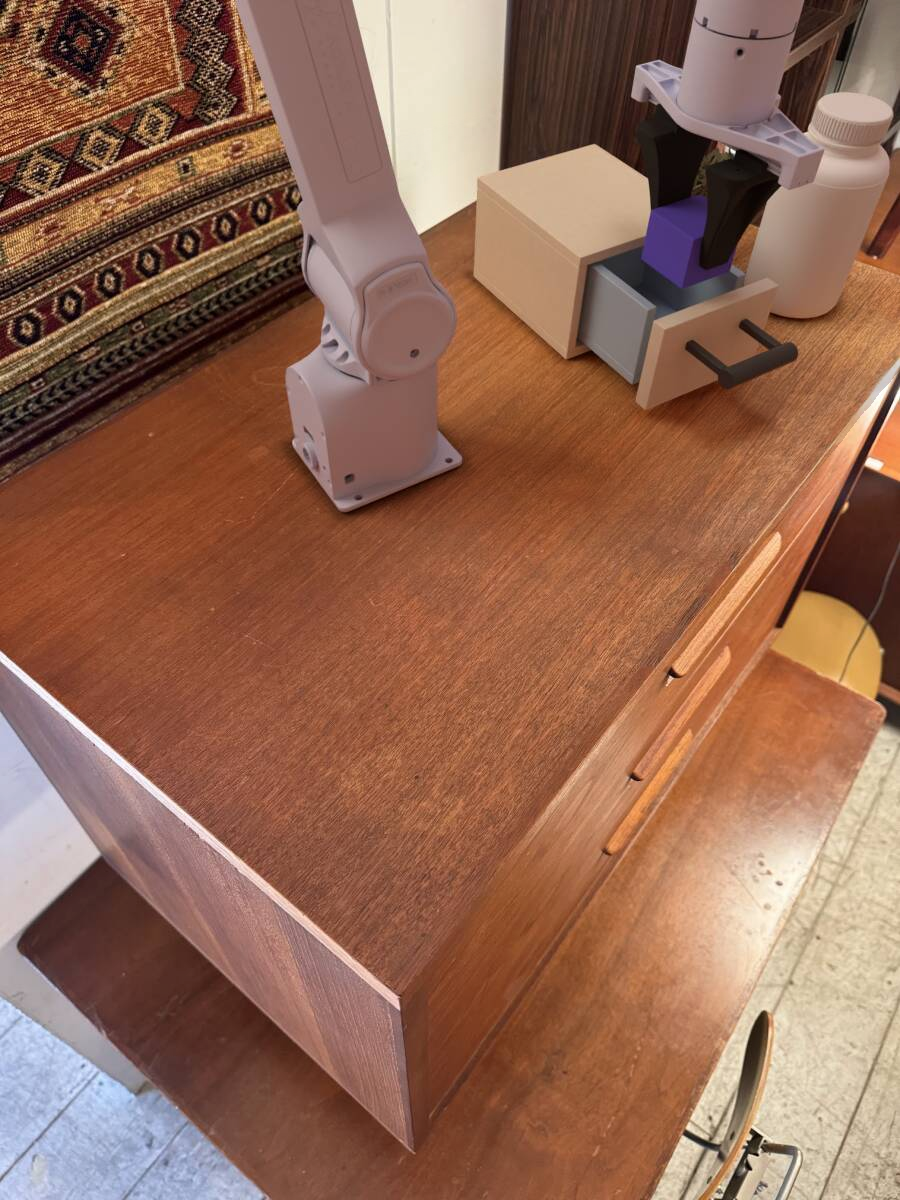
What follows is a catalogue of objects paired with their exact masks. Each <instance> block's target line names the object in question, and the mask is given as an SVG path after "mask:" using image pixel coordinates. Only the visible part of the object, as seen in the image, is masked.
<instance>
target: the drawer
mask: <svg viewBox="0 0 900 1200" xmlns="http://www.w3.org/2000/svg"><path fill="white" fill-rule="evenodd" d="M643 247H644V246H642V247H639V248H636V249H633V250H630V251H627V252H624V253H621V254H618V255H615V256H612V257H609V258H606V259H603V260H601V261H598V262H595V263H592V264H589V265H587V273H586V279H585V286H584V293H583V299H582V306H581V313H580V319H579V326H578V333H577V338H578V339H580V340H581V341H582V342H583V343H584V344H585V345H586V346H588V347H589V348H590V349H591V350H590V351H593V353H594V354H595V355H597V356H598V357H599V358H600V359H601V360H603V361H604V362H605V363H606V364H607V365H608V366H609V367H610V368H612V370H614V371H615V372H617V374H619V375H620V376H621V377H622V378H624V379H625V380H626V382H628V384H630V385H631V386H634V385H636V384H638V388H637V391H636V397H635V403H636V404H637V405H638V406H640V407H641V408H642V409H643V410H644V411H648V410H650V409H653V408H655V407H657V406H660V405H662V404H665V403H666V402H669V401H672V400H673V399H676V398H678V397H681V396H684V395H686V394H688V393H690V392H693V391H695V390H698V389H700V388H702V387H705V386H707V385H709V384H712V383H714V382H716V381H717V382H718V384H719V386H720V387H721V388H722V389H724V390H726V391H727V390H731V389H733V388H736V387H738V386H741V385H743V384H745V383H747V382H750V381H752V380H754V379H757V378H760V377H761V376H763V375H766V374H768V373H771V372H773V371H776V370H777V369H780V368H782V367H785V366H787V365H789V364H791V363H793V362H795V361H796V360H797V359H798V357H799V350H798V349H799V348H798V346H797V345H796V344H795V343H793V342H791V341H787V342H784V343H781V342H780V341H778V340H777V339H776V338H775V337H773V336H771V334H769V333H767V332H766V331H765V327H766V325H767V321H768V319H769V317H770V313H771V312H770V310H771V307H772V305H773V302H774V299H775V296H776V293H777V290H778V287H779V285H777V284H776V283H774V282H773V281H772V280H770V279H769V278H765V279H762V280H760V281H757V282H754V283H752V284H749V285H746V286H744V279H745V275H746V272H744V271H743V270H741V269H740V268H738V267H737V266H735V265H733V264H732V265H731V269H730V271H729V272H727V273H724V274H722V275H719V276H716V277H714V278H711V279H708V280H705V281H703V282H700V283H697V284H695V285H692V286H689V287H686V288H684V289H681V288H679V287H678V286H677V285H675V284H674V283H673V282H671V281H670V280H669V279H667V278H666V277H664V276H663V275H662V274H660V273H659V272H658V271H656V270H655V269H654V268H652V267H651V266H650V265H648V264H647V263H646V262H644V261H643V260H642V259H641V257H642V252H643ZM760 345H761V346H763V347H764V348H765V349H767V350H765V351H762V352H760V353H758V354H757V351H758V349H759V346H760Z"/></svg>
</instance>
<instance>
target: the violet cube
mask: <svg viewBox="0 0 900 1200" xmlns="http://www.w3.org/2000/svg"><path fill="white" fill-rule="evenodd" d="M707 203H708V199H707V198H705V197H703V196H702V195H696V196H693V197H690V198H687V199H684V200H681V201H678V202H675V203H672V204H668V205H665V206H662V207H659V208H656V209H653V210H651V212H650V217H649V222H648V227H647V232H646V237H645V242H644V247H643V252H642V257H641V259H642V260H643V261H644V262H646V263H647V264H648V265H650V266H651V267H652V268H654V269H655V270H656V271H658V272H659V273H660V274H662V275H663V276H664V277H666V278H667V279H669V280H670V281H671V282H673V283H674V284H675V285H677V286H678V287H679V288H681V289H684V288H686V287H689V286H692V285H695V284H697V283H700V282H703V281H705V280H708V279H711V278H714V277H716V276H719V275H722V274H724V273H727V272H729V271H730V269H731V265H733V261H734V258H735V254H736V250H737V247H738V244H739V243H738V244H737V246H736V247H735V249H734V251H733V253H732V255H731V257H730V258H729V260H728V262H727V263H726V264H723V265H720V266H717V267H715V268H712V269H709V270H704V269H703V268H701V267H700V266H699V259H700V248H701V243H702V238H703V234H704V229H705V224H706V217H707Z"/></svg>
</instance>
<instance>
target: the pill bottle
mask: <svg viewBox="0 0 900 1200" xmlns="http://www.w3.org/2000/svg"><path fill="white" fill-rule="evenodd" d="M893 119H894V111H893V109H892V107H891V106H890V105H889V104H888V103H887V102H885V101H883V100H881V99H879V98H876V97H875V96H871V95H868V94H863V93H858V92H849V91H843V92H842V91H841V92H840V91H839V92H832V93H829V94H826V95H823V96H822V97H821V98H820V99H819V100H818V101H817V103H816V106H815V110H814V111H813V116H812V117H811V122H810V123H809V125H808V128H807V131H806V132H802V133H803V134H804V135H805V136H806V137H808V138H809V139H810V140H811V141H813V142H814V143H816V144H817V145H819V146H821V147H823V148H824V149H825V150H824V153H823V156H822V159H821V162H820V165H819V168H818V171H817V174H816V177H815V179H814V182H812V183H809V184H806V185H804V186H801V187H797V188H794V189H791V190H788V189H786V188H785V187H783V186H781V187H780V188H779V189H778V190H777V191H776V192H775V193H774V194H773V195H772V196H771V198H770V199H769V200H768V201H767V202H766V203H765V208H764V211H763V214H762V218H761V221H760V224H759V228H758V231H757V234H756V238H755V241H754V243H753V244H754V245H753V247H752V251H751V254H750V256H749V261H748V264H747V267H746V270H745V274H746V275H745V279H744V282H743V287H744V286H746V285H749V284H752V283H754V282H757V281H760V280H762V279H765V278H769V279H770V280H772V281H773V282H774V283H776V284H777V285H779V287H778V290H777V293H776V296H775V299H774V302H773V305H772V307H771V310H770V313H772V314H775V315H778V316H781V317H786V318H792V319H793V318H794V319H810V318H817V317H820V316H823V315H825V314H827V313H829V312H831V310H832V309H834V308H835V306H836V305H837V303H838V301H839V300H840V298H841V296H842V294H843V291H844V289H845V286H846V284H847V281H848V279H849V276H850V274H851V271H852V269H853V266H854V264H855V261H856V258H857V256H858V253H859V251H860V249H861V246H862V244H863V242H864V239H865V237H866V234H867V231H868V229H869V226H870V223H871V221H872V219H873V216H874V214H875V212H876V209H877V206H878V204H879V201H880V198H881V196H882V194H883V191H884V188H885V186H886V184H887V181H888V179H889V175H890V169H891V164H890V156H889V155H888V153H887V151H886V150H885V149H884V147H883V146H882V145H881V144H882V143H883V141H884V138H885V137H886V135H887V134H888V131H889V129H890V126H891V124H892V121H893Z"/></svg>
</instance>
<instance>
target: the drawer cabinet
mask: <svg viewBox="0 0 900 1200" xmlns="http://www.w3.org/2000/svg"><path fill="white" fill-rule="evenodd" d="M476 178H477V179H476V207H475V209H476V211H475V231H474V233H475V234H474V259H473V261H474V262H473V278H474V279H476V280H477V281H478V282H479V283H480V284H481V285H482V286H483V287H485V288H486V290H488V291H489V292H490V293H491V294H492V295H493V296H494V297H496V298H497V300H499V301H500V302H501V303H502V304H503V305H504V306H505V307H506V308H508V309H509V310H510V311H511V312H513V314H515V315H516V316H517V317H518V318H519V319H520V320H521V321H522V322H523V323H525V324H526V325H527V326H528V327H529V328H530V329H531V330H532V331H534V332H535V333H536V334H537V335H538V336H539V337H540V338H541V339H542V340H543V341H545V342H546V344H547V345H549V346H550V347H551V348H552V349H554V350H555V351H556V352H557V353H558V354H559V355H560V356H561V357H562V358H563V359H564V360H566V361H567V360H569V359H572V358H574V357H577V356H580V355H583V354H585V353H588V352H591V351H592V350H591V349H590V348H589V347H588V346H586V345H585V344H584V343H583V342H582V341H581V340H580V339H578V338H577V333H578V326H579V319H580V313H581V306H582V299H583V293H584V286H585V279H586V273H587V265H589V264H592V263H595V262H598V261H601V260H603V259H606V258H609V257H612V256H615V255H618V254H621V253H624V252H627V251H630V250H633V249H636V248H639V247H642V246H644V242H645V237H646V232H647V227H648V222H649V217H650V212H651V206H650V192H649V183H648V177H646V176H644V175H643V174H642V173H640V172H639V171H637V170H635V168H632V167H631V166H629V165H628V164H626V163H625V162H623V161H622V160H620V159H619V158H617V157H616V156H614V155H612V154H611V153H610V152H608V151H607V150H605V149H603V148H602V147H600V146H599V145H597V144H595V143H593V144H589V145H586V146H582V147H579V148H576V149H572V150H569V151H565V152H561V153H558V154H554V155H551V156H547V157H543V158H540V159H537V160H533V161H530V162H525V163H523V164H519V165H516V166H512V167H508V168H505V169H501V170H497V171H495V172H490V173H487V174H484V175H479V176H477V177H476Z"/></svg>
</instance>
